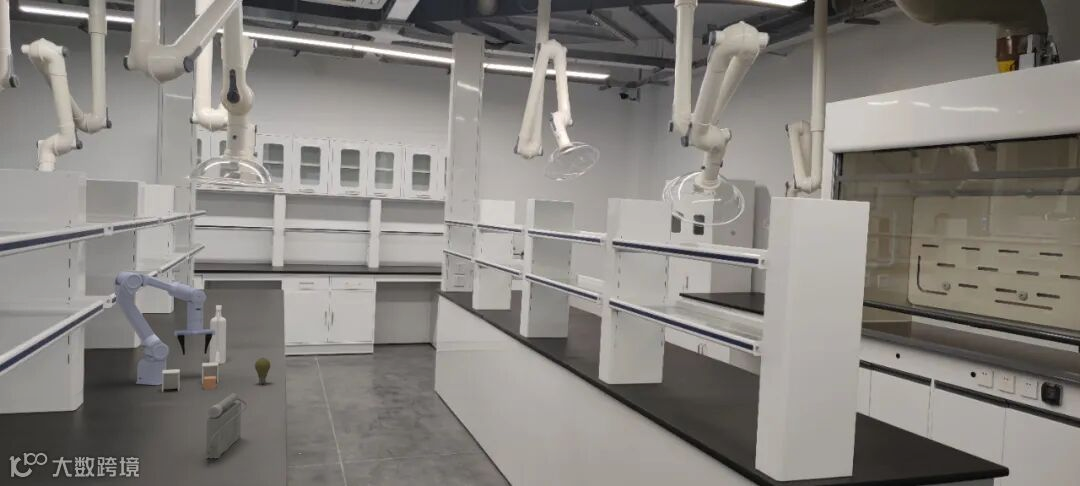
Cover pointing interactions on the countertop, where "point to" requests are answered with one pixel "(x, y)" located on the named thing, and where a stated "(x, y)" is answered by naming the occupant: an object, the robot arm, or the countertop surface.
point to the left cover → (171, 379)
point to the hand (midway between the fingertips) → (194, 353)
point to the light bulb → (262, 369)
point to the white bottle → (218, 337)
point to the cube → (210, 382)
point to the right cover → (210, 370)
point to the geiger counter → (223, 425)
